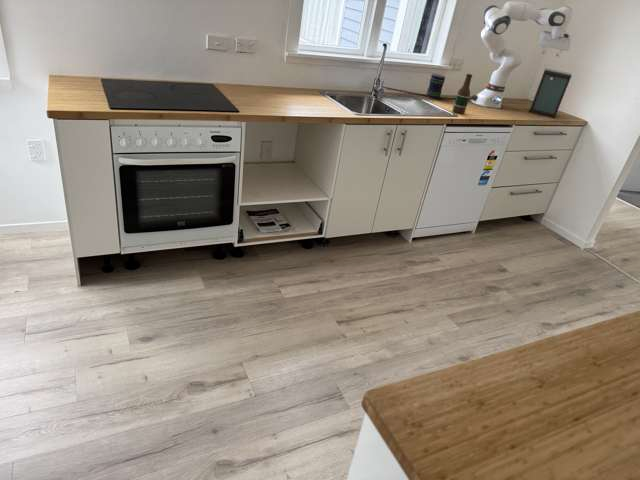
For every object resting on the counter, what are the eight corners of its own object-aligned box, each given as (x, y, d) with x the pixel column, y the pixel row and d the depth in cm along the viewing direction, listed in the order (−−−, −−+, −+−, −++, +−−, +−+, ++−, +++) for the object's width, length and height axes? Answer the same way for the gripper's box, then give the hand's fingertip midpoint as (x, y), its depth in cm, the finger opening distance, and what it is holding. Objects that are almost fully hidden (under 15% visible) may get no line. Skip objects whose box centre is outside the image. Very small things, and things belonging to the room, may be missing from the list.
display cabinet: (554, 118, 348) (571, 75, 334) (529, 111, 353) (544, 69, 339) (554, 115, 360) (571, 73, 345) (530, 109, 365) (545, 67, 350)
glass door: (554, 117, 341) (570, 79, 328) (530, 111, 346) (544, 73, 333) (554, 115, 349) (569, 78, 336) (530, 109, 354) (544, 72, 341)
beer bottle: (457, 114, 306) (468, 75, 294) (449, 110, 312) (460, 72, 300) (466, 114, 309) (478, 76, 298) (459, 111, 315) (470, 73, 304)
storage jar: (436, 99, 337) (442, 77, 330) (423, 96, 341) (429, 74, 334) (441, 98, 345) (447, 76, 337) (428, 94, 349) (434, 73, 341)
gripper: (541, 30, 327) (534, 51, 333) (573, 36, 318) (564, 58, 325) (543, 30, 332) (535, 51, 338) (574, 36, 323) (566, 58, 329)
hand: (550, 54), depth 331 cm, fingers open, 8 cm apart
